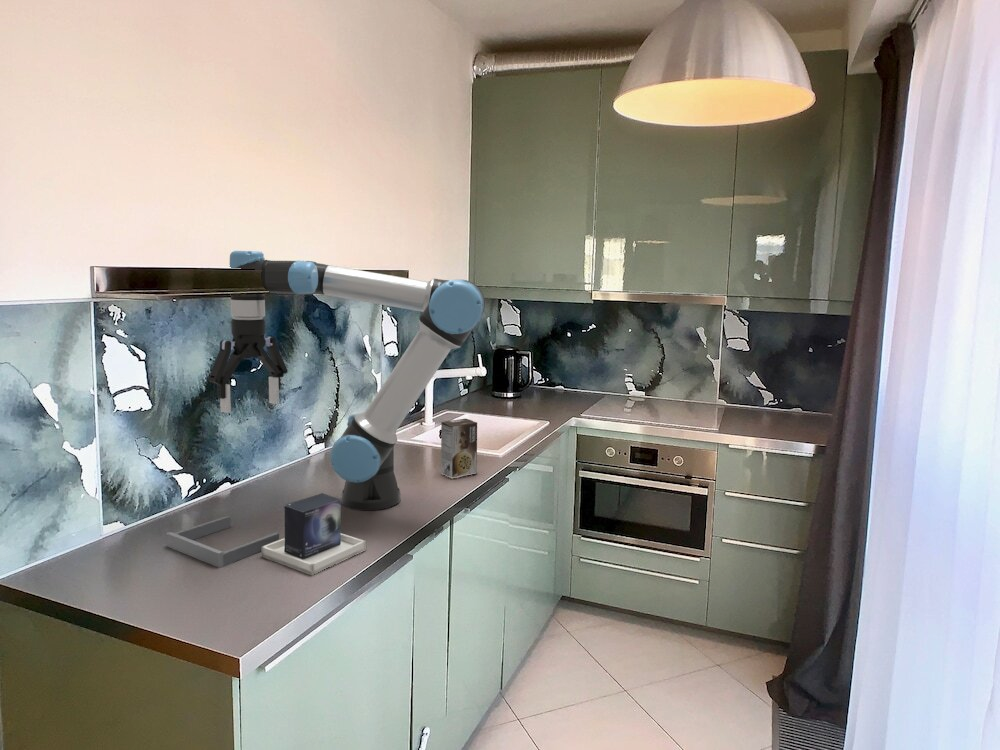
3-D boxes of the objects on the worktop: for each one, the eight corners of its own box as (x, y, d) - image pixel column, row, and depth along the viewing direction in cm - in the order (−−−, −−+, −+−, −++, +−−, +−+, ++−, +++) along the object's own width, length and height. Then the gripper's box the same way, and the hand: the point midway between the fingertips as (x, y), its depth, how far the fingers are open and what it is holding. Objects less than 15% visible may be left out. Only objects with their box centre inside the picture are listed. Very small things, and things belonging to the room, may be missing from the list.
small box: (303, 560, 143) (303, 511, 141) (283, 552, 146) (282, 504, 145) (342, 544, 151) (342, 498, 150) (322, 537, 155) (321, 492, 153)
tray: (317, 534, 158) (316, 525, 158) (366, 550, 150) (366, 541, 150) (261, 556, 146) (261, 546, 145) (312, 575, 138) (311, 565, 137)
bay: (227, 526, 162) (227, 513, 162) (279, 544, 153) (279, 531, 152) (166, 546, 150) (166, 533, 149) (219, 567, 140) (218, 553, 140)
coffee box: (465, 469, 213) (466, 417, 210) (477, 474, 208) (478, 421, 205) (439, 474, 207) (440, 421, 205) (451, 479, 202) (452, 425, 200)
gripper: (280, 314, 175) (282, 398, 178) (189, 319, 154) (193, 413, 157) (301, 316, 170) (302, 401, 174) (210, 321, 150) (213, 418, 153)
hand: (250, 407), depth 165 cm, fingers open, 13 cm apart
